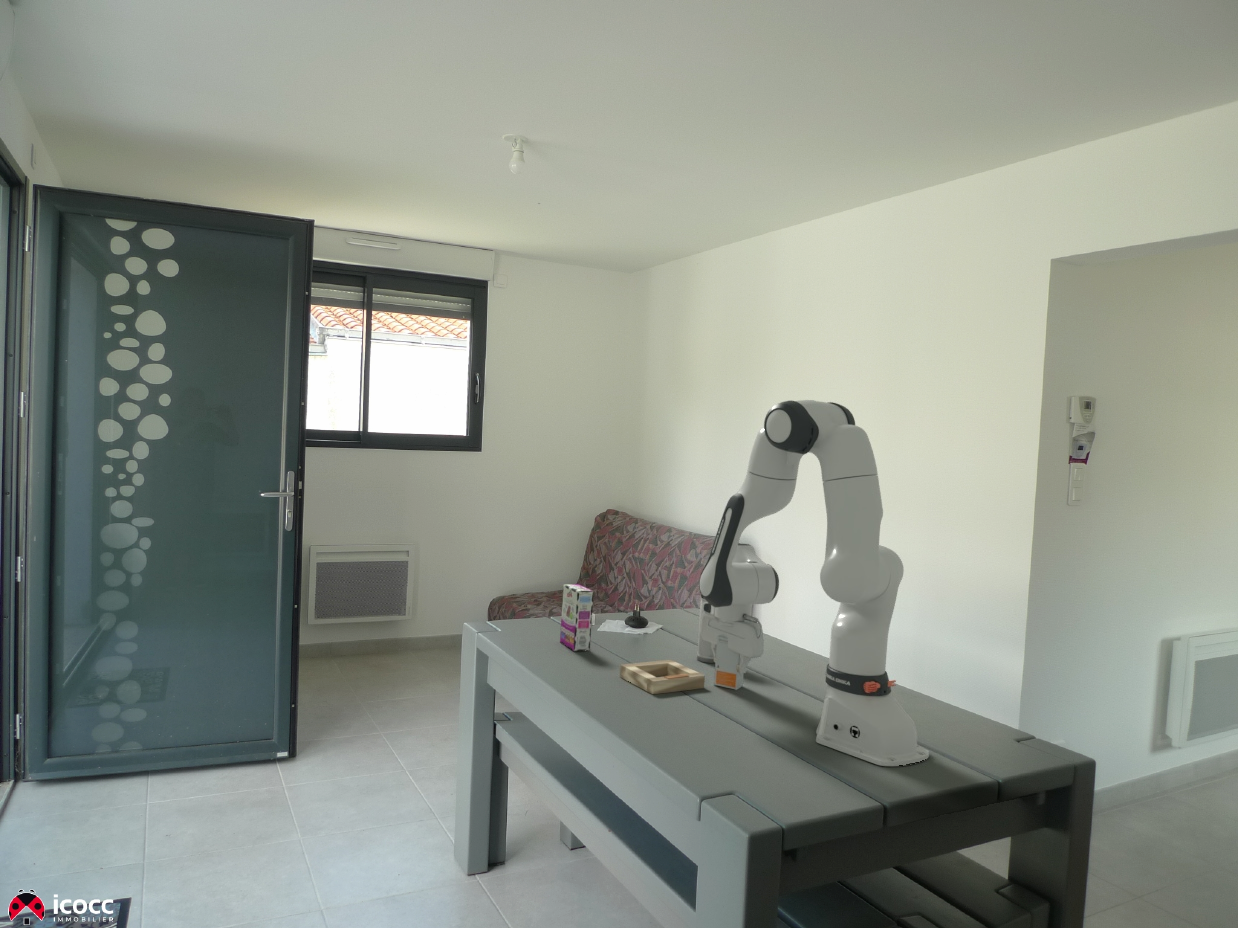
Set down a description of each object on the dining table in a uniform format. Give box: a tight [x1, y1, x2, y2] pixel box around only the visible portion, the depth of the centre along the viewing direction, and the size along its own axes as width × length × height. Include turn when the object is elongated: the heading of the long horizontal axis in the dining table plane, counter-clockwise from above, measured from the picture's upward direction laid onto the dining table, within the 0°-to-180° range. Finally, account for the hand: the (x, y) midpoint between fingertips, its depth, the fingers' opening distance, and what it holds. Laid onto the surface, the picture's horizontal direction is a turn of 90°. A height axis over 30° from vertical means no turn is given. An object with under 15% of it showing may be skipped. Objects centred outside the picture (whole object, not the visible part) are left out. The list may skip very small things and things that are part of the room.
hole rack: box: [619, 659, 706, 695], centre depth 205 cm, size 15×15×3 cm
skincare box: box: [713, 635, 744, 691], centre depth 205 cm, size 6×4×12 cm
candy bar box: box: [559, 583, 595, 652], centre depth 234 cm, size 11×5×16 cm, turn 25°
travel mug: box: [696, 594, 716, 664], centre depth 228 cm, size 6×7×20 cm
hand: (729, 667), depth 205 cm, fingers open, 8 cm apart
